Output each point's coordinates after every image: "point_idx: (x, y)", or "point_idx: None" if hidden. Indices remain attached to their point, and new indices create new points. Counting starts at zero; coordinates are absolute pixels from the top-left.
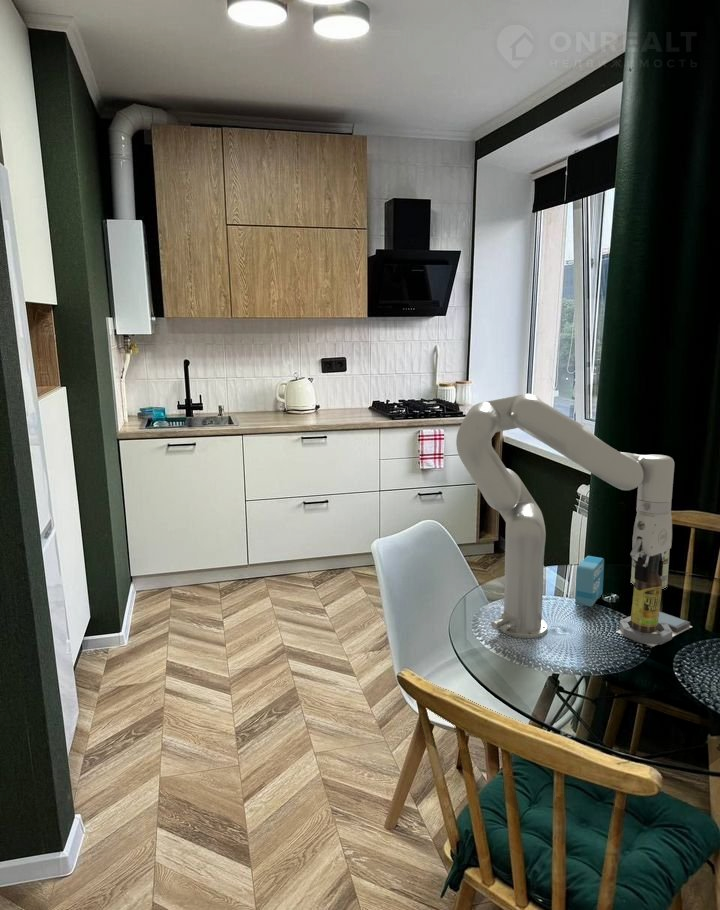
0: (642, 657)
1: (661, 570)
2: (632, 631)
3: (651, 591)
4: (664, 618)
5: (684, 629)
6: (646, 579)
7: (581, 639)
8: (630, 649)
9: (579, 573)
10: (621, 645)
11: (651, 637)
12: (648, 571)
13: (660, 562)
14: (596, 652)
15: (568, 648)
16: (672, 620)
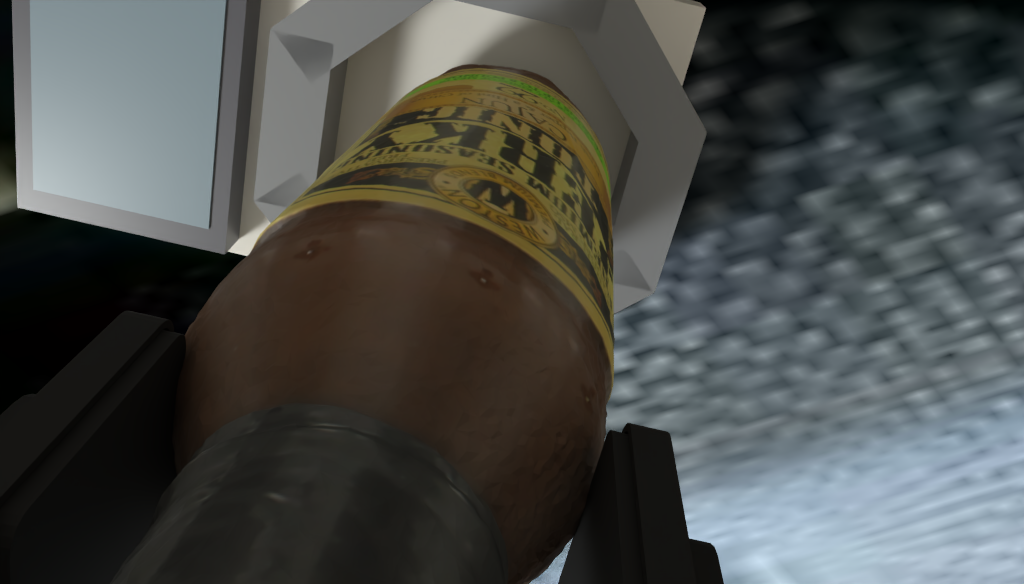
0: (859, 33)
1: (106, 382)
2: (667, 221)
3: (586, 276)
4: (134, 94)
5: None
6: (672, 466)
7: (801, 469)
8: (764, 157)
9: None
10: (734, 233)
11: (661, 51)
12: (653, 571)
13: (20, 539)
14: (958, 331)
15: (992, 485)
16: (119, 19)
